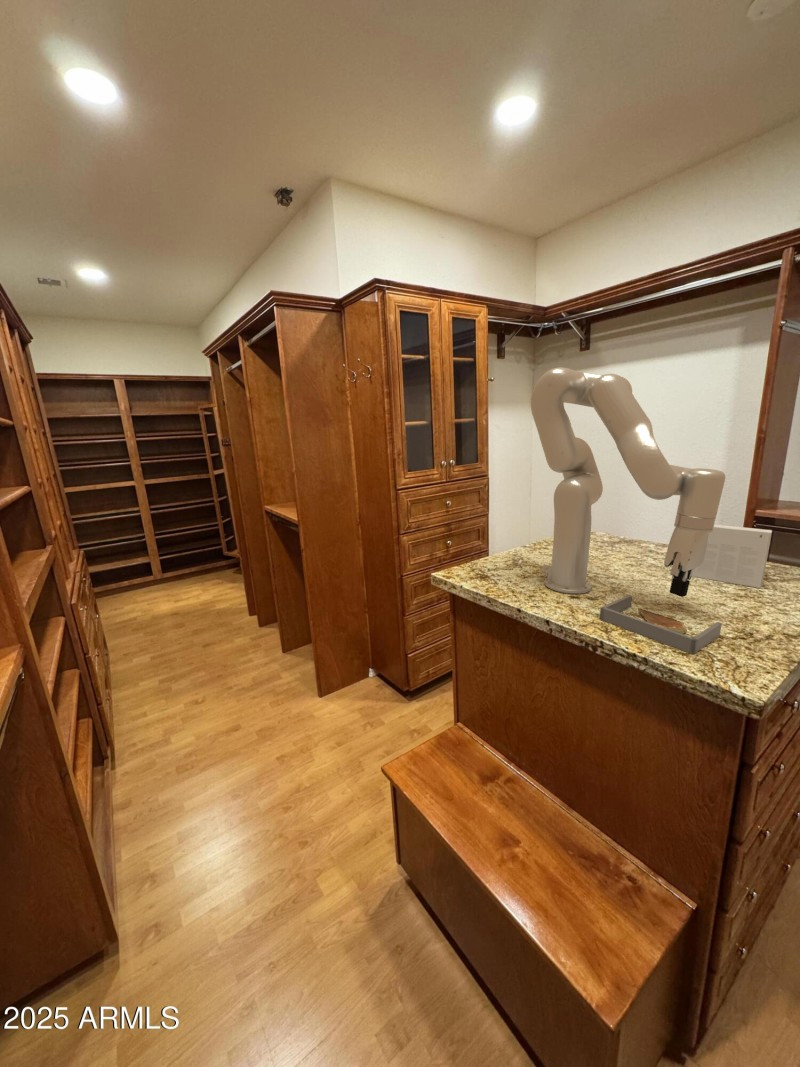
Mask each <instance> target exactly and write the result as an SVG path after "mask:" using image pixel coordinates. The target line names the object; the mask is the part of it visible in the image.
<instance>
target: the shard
mask: <svg viewBox="0 0 800 1067" xmlns="http://www.w3.org/2000/svg"><path fill="white" fill-rule="evenodd" d="M637 610H638V614H639V615H640V616H641V617H642V618H643V619H644V621H646V622H649V623H651V624H654V625H657V626H660V627H663V628H666V629H669V630H672V631H675V632H677V633H680V634H683V635H685V633H687V630H688V628H687V627H685V622H682V621H680V620H677V619H674V618H672V617H669V616H665V615H662V614H659V613H657V612H652V611H649V610H646V609H643V608H639V607H637Z"/></svg>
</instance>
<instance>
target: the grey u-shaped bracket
mask: <svg viewBox="0 0 800 1067" xmlns="http://www.w3.org/2000/svg"><path fill="white" fill-rule="evenodd" d="M632 602H633V595H632V594H627V595H625V596H624V597H621V598H619V599H617V600H615V601H612V602H610V603H608V604H606V605H603V606H600V611H599V620H601V621H603V622H606V623H609V624H611V625H614V626H617V627H620V628H622V629H625V630H628V631H630V632H633V633H635V634H638V635H640V636H642V637H646V638H648V639H652V640H655V641H657V642H659V643H662V644H665V645H668V646H670V647H673V648H675V649H678V650H681V651H683V652H686V653H689V654H691V655H695V654H696V653H698V652H699V651H701V650H702V649H703V648H704V647H707V645H709V644H711V643H712V642H713V641H715V640H716V639H717V638H719V637H720V636H721V630H722V625H723V624H722V622H720V621H717V622H715V623H713V624H712V625H711V626H709V627H708V628H706V629H705V630H702V631H701V632H700V633H698V634H697V635H695V636H694V637H691V636H689V635H686V634H680V633H677V632H675V631H672V630H669V629H666V628H663V627H660V626H657V625H654V624H651V623H649V622H647V621H646V620H642V619H639V618H637V617H634V616H631V615H628V614H625V613H623V611H625V610H628V609H630V608H631V607H632Z"/></svg>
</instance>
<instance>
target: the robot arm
mask: <svg viewBox="0 0 800 1067" xmlns="http://www.w3.org/2000/svg"><path fill="white" fill-rule="evenodd" d="M565 403H566V404H571V405H579V406H583V407H587V408H588V407H589V408H593V409H594V411H595V412H596V414H597V415H598V416H599V418H600V420H601V421H602V423H603V424H604V426H605V428H606V430H607V431H608V433H609V434H610V436H611V437H612V439H613V441H614V442H615V445H616V448H617V450H618V452H619V453H620V456H621V458H622V461H623V463H624V464H625V466H626V468H627V470H628V471H629V473H630V475H631V476H632V478H633V480H634V482H635V483H636V484H637V486H638V488H640V491H641V492H642V493H643V494H644V495H645V496H647V497H648V498H649V499H651V500H657V501H662V500H667V499H669V498H671V497H673V496H679V501H678V506H677V510H676V515H675V519H674V524H673V526H674V529H673V531H672V534H671V537H670V540H669V543H668V546H667V550H666V554H665V557H664V562H663V565H664V567H666V568H668V567H671V569H670V573H669V574H670V575H672V576H671V583H670V588H669V593H670V594H672V595H675V596H677V597H681V598H684V597H685V596H687V595H688V591H689V587H690V582H691V581H690V580H691V579H692V577H693V576H692V573H693V570H694V569H695V568H696V567H698V566H700V565H701V564H702V562H703V560H704V556H705V552H706V547H707V542H708V535H709V532H712V531H713V527H714V524H715V523H716V519H717V516H718V511H719V506H720V502H721V498H722V494H723V489H724V485H725V482H726V474H725V473H724V472H723V471H721V470H718V469H712V468H698V467H697V468H689V467H682V466H679V465H673V464H670V463H669V462H668V460H667V459H666V458H665V455H664V453H662V451H661V449H660V447H659V445H658V444H657V442H656V438H655V436H654V432H653V425H652V422H651V420H650V418H649V416H647V414H646V412H645V411H644V409H643V408H642V407H641V404H639V402H638V401H637V399H636V397H635V396H634V394H633V387H632V385H631V382H630V381H629V380H628V379H627V378H626V377H623V376H621V375H618V374H615V373H606V374H596V373H589V372H582V371H577V370H575V369H572V368H569V367H564V366H563V367H560V366H558V367H555V368H550V369H549V370H547V371H546V372H545V373H544V374H542V376H540V378H539V379H538V380H537V382H536V383H535V385H534V387H533V389H532V392H531V397H530V409H531V410H530V411H531V414H532V418H533V421H534V423H535V427H536V430H537V434H538V436H539V440H540V443H541V446H542V447H541V448H542V450H543V454H544V457H545V459H546V463H547V465H548V467H549V468H550V470H551V471H553V472H555V473H558V474H562V476H563V478H564V479H563V480H561V481H560V482H559V483H558V484H557V486H556V488H555V489H554V493H553V511H554V516H553V517H554V522H553V523H554V524H553V536H552V537H553V539H552V552H551V565H548V564H542V567H541V568H540V573H543V574H546V575H547V576H546V578H545V579H544V585H545V586H546V587H547V588H548V589H550V590H553V591H555V592H558V593H564V594H570V595H571V594H572V595H573V594H574V595H576V594H579V595H580V594H585V593H588V592H590V591H592V588H593V585H592V582H590V581H589V580H588V579H587V577H588V566H589V565H588V564H589V557H590V556H589V555H590V542H591V534H592V505H594V504H595V503H597V502H598V501H599V500H600V498H601V497H602V495H603V491H604V490H603V489H604V488H603V482H602V479H601V476H600V472H599V469H598V466H597V462H596V459H595V457H594V454H593V450H592V449H591V447H590V445H589V444H588V442H587V441H585V440H584V439H583V438H581V437H577V436H576V435H575V433H574V430H573V427H572V423H571V421H570V420H571V419H570V418H569V416H568V413H567V411H566V409H565Z"/></svg>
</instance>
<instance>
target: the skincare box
mask: <svg viewBox="0 0 800 1067" xmlns="http://www.w3.org/2000/svg"><path fill="white" fill-rule="evenodd" d="M772 533H773V530H772V529H762V528H754V527H753V528H752V527H744V526H736V525H735V526H732V525H725V524H724V525H723V524H715V523H714V527H713V531H712V532H709V535H708V542H707V547H706V552H705V556H704V560H703V562H702V564H701V565H700V566H698V567H696V568H695V569H694V570H693V573H692V577H694V578H698V579H699V578H700V579H705V580H711V581H717V582H722V583H727V584H733V585H739V586H745V587H751V588H757V589H761V588H762V586H763V581H764V577H765V571H766V566H767V560H768V555H769V549H770V546H771V538H772Z"/></svg>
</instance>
